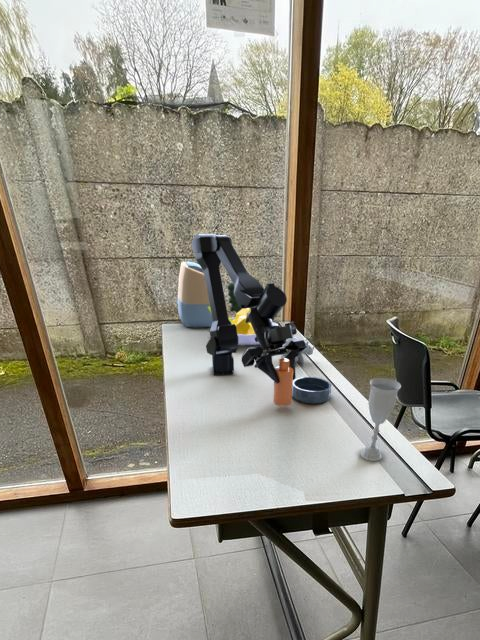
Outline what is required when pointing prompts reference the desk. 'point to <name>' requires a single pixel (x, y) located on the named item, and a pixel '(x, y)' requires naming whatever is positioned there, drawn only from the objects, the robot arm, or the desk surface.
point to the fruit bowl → (243, 328)
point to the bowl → (311, 390)
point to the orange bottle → (283, 383)
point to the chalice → (380, 410)
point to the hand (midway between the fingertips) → (286, 381)
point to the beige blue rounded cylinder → (193, 296)
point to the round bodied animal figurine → (307, 350)
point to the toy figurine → (234, 299)
